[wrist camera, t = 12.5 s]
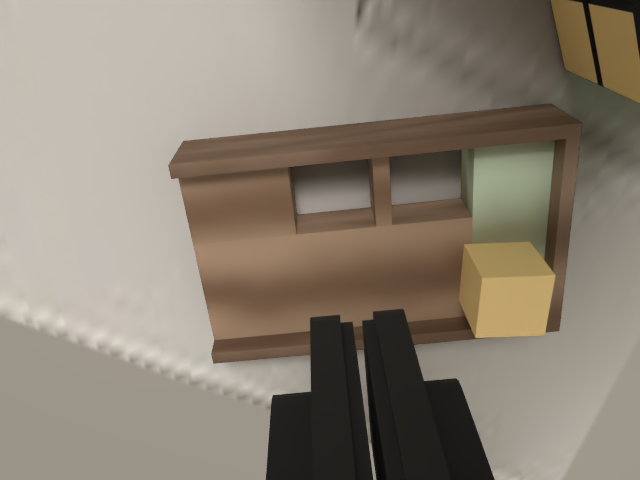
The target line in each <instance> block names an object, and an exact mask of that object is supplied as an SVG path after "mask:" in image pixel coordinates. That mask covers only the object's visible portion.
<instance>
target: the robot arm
mask: <svg viewBox="0 0 640 480" xmlns="http://www.w3.org/2000/svg"><path fill="white" fill-rule="evenodd" d="M362 329H363V342H364V355H365V368H366V380H367V393H368V406H369V419H370V432H371V442H372V450H373V457H374V465H375V471H376V479H377V480H494V477H493V474H492V471H491V468H490V466H489V463H488V460H487V457H486V454H485V452H484V449H483V446H482V443H481V441H480V438H479V435H478V432H477V429H476V427H475V424H474V421H473V418H472V415H471V413H470V410H469V407H468V404H467V401H466V399H465V396H464V393H463V390H462V387H461V385H460V383H459V381H458V380H457V379H456V378H455V379H444V380H433V381H424V380H423V377H422V373H421V370H420V366H419V362H418V359H417V355H416V351H415V348H414V344H413V341H412V337H411V333H410V330H409V326H408V322H407V319H406V315H405V312H404V309H393V310H382V311H373V320H362ZM310 353H311V392H303V393H293V394H282V395H273V397H272V404H271V416H270V431H269V445H268V460H267V473H266V480H373V475H372V467H371V460H370V452H369V444H368V436H367V429H366V421H365V413H364V406H363V398H362V390H361V382H360V375H359V367H358V359H357V352H356V344H355V336H354V329H353V322H340V315H330V316H319V317H310Z"/></svg>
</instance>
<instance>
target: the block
mask: <svg viewBox="0 0 640 480" xmlns="http://www.w3.org/2000/svg"><path fill="white" fill-rule="evenodd" d="M555 276H556V275H555V274H554V272H553V271H552V270H551V269H550V267H549V266H548V265H547V263H546V262H545V261H544V259H543V258H542V257H541V256H540V254H539V253H538V252H537V250H536V249H535V248H534V246H533V245H532V244H531V243H530V242H510V243H483V244H464V250H463V260H462V271H461V281H460V292H459V302H460V304H461V306H462V309H463V311H464V313H465V315H466V318H467V320H468V322H469V325H470V327H471V329H472V331H473V334H474V336H475V338H488V337H514V336H541V335H545V331H546V326H547V320H548V315H549V309H550V304H551V298H552V293H553V287H554V282H555Z"/></svg>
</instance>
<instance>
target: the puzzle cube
mask: <svg viewBox="0 0 640 480" xmlns="http://www.w3.org/2000/svg"><path fill="white" fill-rule="evenodd" d="M551 5H552V10H553V14H554V19H555V24H556V29H557V33H558V38H559V43H560V47H561V52H562V57H563V62H564V66H565V69H566V70H568V71H570V72H572V73H574V74H577V75H579V76H581V77H583V78H585V79H587V80H590V81H592V82H594V83H596V84H598V85H601V86H603V87H606V88H608V89H610V90H612V91H614V92H616V93H618V94H620V95H622V96H624V97H627V98H629V99H631V100H633V101H635V102H637V103H639V104H640V0H551Z"/></svg>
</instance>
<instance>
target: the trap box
mask: <svg viewBox="0 0 640 480" xmlns="http://www.w3.org/2000/svg"><path fill="white" fill-rule="evenodd" d="M581 131H582V123H581V122H579V121H578V120H576V119H575V118H573V117H571V116H570V115H568V114H567V113H565V112H564V111H562V110H560V109H559V108H557V107H556V106H554V105H553V104H542V105H532V106H523V107H513V108H503V109H493V110H484V111H474V112H464V113H454V114H444V115H435V116H425V117H415V118H405V119H396V120H386V121H376V122H366V123H357V124H347V125H337V126H327V127H318V128H308V129H298V130H288V131H279V132H269V133H259V134H249V135H240V136H230V137H220V138H210V139H200V140H191V141H183V143H182V144H181V146H180V147H179V149H178V151H177V152H176V154H175V155H174V157H173V159H172V160H171V162H170V164H169V165H168V166H169V171H170V175H171V179H175V178H179V183H180V187H181V192H182V196H183V201H184V205H185V210H186V214H187V219H188V223H189V228H190V232H191V237H192V241H193V246H194V250H195V255H196V259H197V264H198V268H199V273H200V277H201V282H202V286H203V291H204V295H205V300H206V304H207V309H208V313H209V318H210V322H211V327H212V331H213V336H214V345H213V349H212V353H211V355H212V359H213V363H224V362H234V361H245V360H256V359H266V358H277V357H288V356H298V355H309V354H311V353H310V317H319V316H330V315H340V322H353V329H354V336H355V344H356V350H362V349H364V342H363V329H362V320H373V311H382V310H393V309H404V312H405V315H406V319H407V322H408V326H409V330H410V333H411V337H412V341H413V344H414V345H416V344H426V343H437V342H448V341H458V340H469V339H479V338H475V336H474V334H473V331H472V329H471V327H470V325H469V322H468V320H467V318H466V315H465V313H464V311H463V309H462V306H461V304H460V302H459V292H460V281H461V271H462V260H463V250H464V244H483V243H510V242H530V243H531V244H532V245H533V246H534V248H535V249H536V250H537V252H538V253H539V254H540V256H541V257H542V258H543V259H544V261H545V262H546V263H547V265H548V266H549V267H550V269H551V270H552V271H553V272H554V274H555V275H556V276H555V282H554V287H553V293H552V298H551V304H550V309H549V315H548V320H547V326H546V331H545V332H554V331H559V329H560V320H561V311H562V302H563V293H564V284H565V275H566V266H567V257H568V248H569V239H570V230H571V221H572V212H573V203H574V194H575V185H576V176H577V167H578V158H579V149H580V140H581ZM452 150H462V159H461V199H451V200H441V201H431V202H421V203H410V204H400V205H391V187H390V164H389V157H392V156H402V155H412V154H422V153H432V152H442V151H452ZM363 159H368V164H369V180H370V196H371V207H370V208H360V209H350V210H340V211H330V212H320V213H310V214H300V215H297V212H296V204H295V196H294V188H293V180H292V172H291V167H293V166H303V165H313V164H323V163H333V162H343V161H353V160H363ZM488 338H490V337H488Z"/></svg>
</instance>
